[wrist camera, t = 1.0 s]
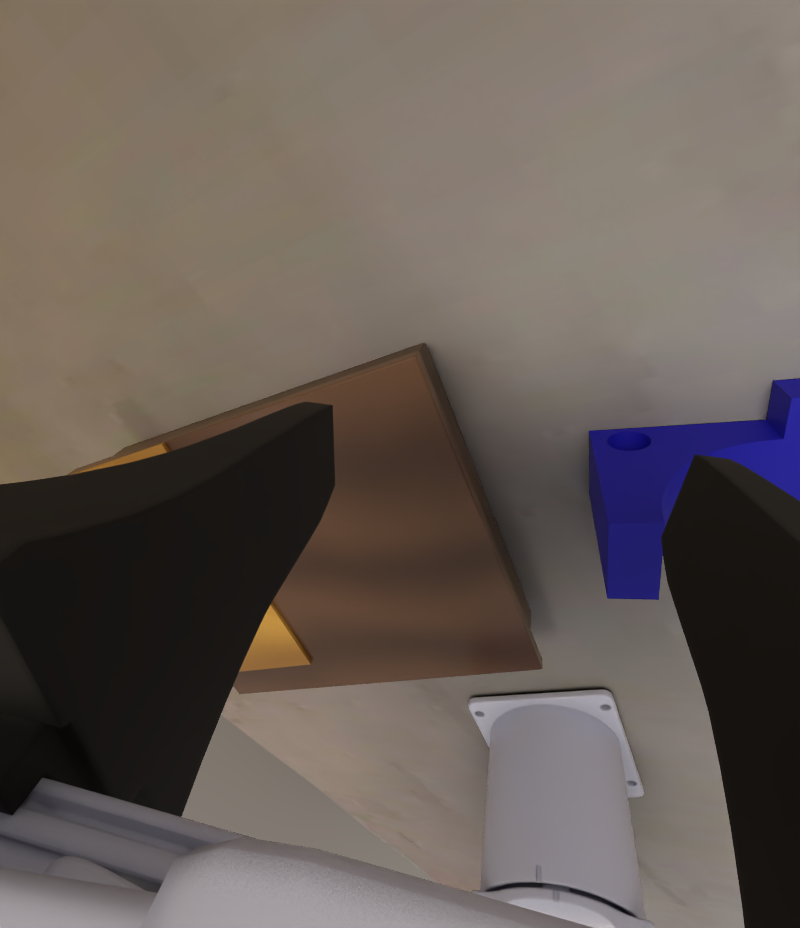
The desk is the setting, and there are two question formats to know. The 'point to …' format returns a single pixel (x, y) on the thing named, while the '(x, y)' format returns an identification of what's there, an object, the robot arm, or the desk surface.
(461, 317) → the desk surface
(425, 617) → the walnut stand
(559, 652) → the desk surface
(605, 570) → the cable clip
